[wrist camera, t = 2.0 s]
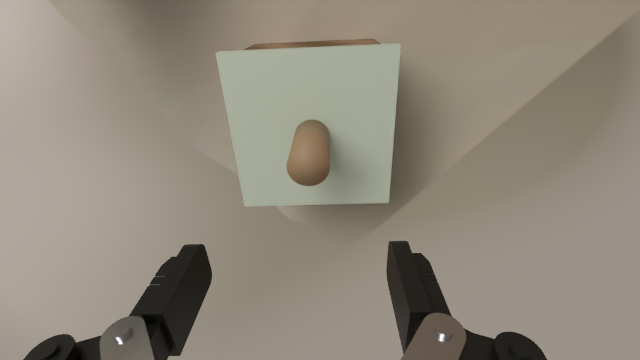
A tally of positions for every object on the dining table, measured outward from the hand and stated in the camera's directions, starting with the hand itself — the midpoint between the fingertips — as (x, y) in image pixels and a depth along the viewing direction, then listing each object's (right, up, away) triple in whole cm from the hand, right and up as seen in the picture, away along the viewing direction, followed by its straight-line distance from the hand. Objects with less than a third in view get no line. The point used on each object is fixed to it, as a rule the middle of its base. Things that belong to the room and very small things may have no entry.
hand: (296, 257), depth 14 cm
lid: (0, +8, +14) cm, 16 cm away
